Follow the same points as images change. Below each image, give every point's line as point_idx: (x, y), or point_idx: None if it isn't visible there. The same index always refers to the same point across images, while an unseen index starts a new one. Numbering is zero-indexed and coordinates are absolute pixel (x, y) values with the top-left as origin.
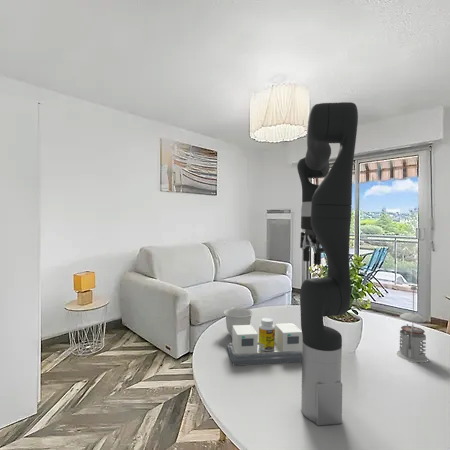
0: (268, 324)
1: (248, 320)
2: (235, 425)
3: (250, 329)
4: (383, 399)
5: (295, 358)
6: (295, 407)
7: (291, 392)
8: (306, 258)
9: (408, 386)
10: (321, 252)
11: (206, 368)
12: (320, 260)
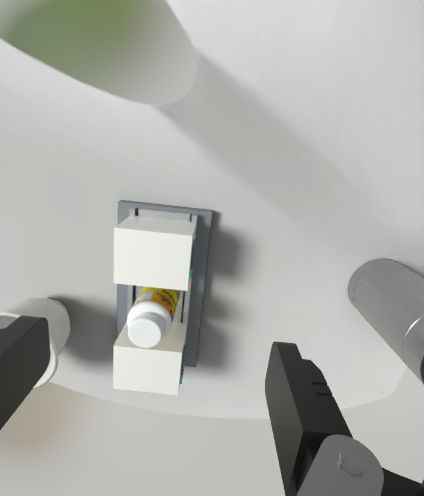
0: (162, 331)
1: (48, 324)
2: (353, 398)
3: (148, 358)
4: (395, 151)
5: (208, 244)
6: (350, 314)
7: (312, 302)
8: (31, 361)
9: (383, 47)
10: (391, 474)
11: (196, 402)
12: (323, 382)
